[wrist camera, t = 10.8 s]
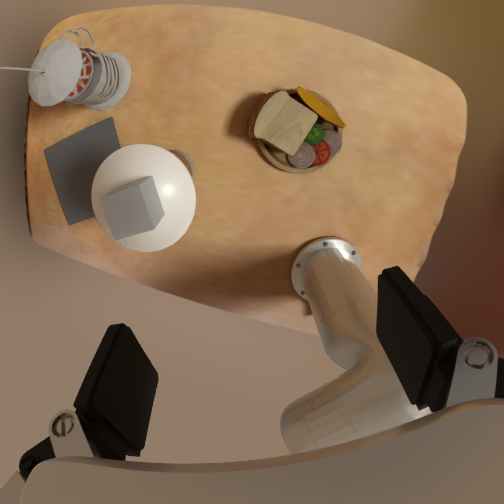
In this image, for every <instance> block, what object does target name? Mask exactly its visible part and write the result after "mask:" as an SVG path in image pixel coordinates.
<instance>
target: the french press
mask: <svg viewBox="0 0 504 504" xmlns="http://www.w3.org/2000/svg"><path fill="white" fill-rule="evenodd" d="M77 29H83V30H85V31H87V32H88V34H89V35H90V37H91V40H92V44H93V49H94V50H91V49H89V48H84V43H83V40H82V38H81V36H80V35H79V34H78V33H77V32H75V30H77ZM67 32H71V33H70V34H69V37H68V39H65V40H60V38H61V37H62V36H63V35H64V34H65V33H67ZM72 33H75V34H76V35H77V36H78V37H79V38H80V39H81V42H82V45H83V49H82V48H78V46H77V44H76V43H74V42H71V41H69V39H70V36H71V34H72ZM88 51H89V52H92V53H95V54H97V55H95V56H93V55H91V54H90V53H89V52H88ZM0 69H15V70H29V71H30V73H29V77H28V89H29V94H30V96H31V98H32V99H33V101H34V102H36V103H37V104H39V105H40V106H53V105H55V104H57V103H59V102H64V103H67V104H83V105H84V106H86V107H87V108H89V109H91V110H100V111H102V110H105V109H107V108H110V107H113V106H114V105H115V104H116V103H117V102H119V101H120V100H121V99H122V98H123V96H124V95H125V93H126V91H127V90H128V88H129V85H130V80H131V76H132V75H131V68H130V64H129V62H128V61H127V59H126V58H125V56H123V55H121V54H119V53H117V52H115V51H104V52H102V53H100V52H98V51H96V50H95V45H94V40H93V36H92V35H91V33H90V32H89V31H88V30H87V29H86V28H84V27H77V28H75V29H74V30H73V31H72V30H69V31H65V32H63V33H62V34H61V35H60V37H59V38H58V40H57V41H54V42H53V43H51V44H49V45H47V46H46V47H45V48H44V49H43V50H42V51H41V52H40V53H39V54H38V55H37V56H36V58H35V60H34V62H33V64H32V66H31V68H30V69H26V68H12V67H0ZM77 99H78V100H80V101H81V102H80V101H78V100H77ZM74 100H76V101H77V102H75V101H74ZM71 101H73V102H71Z"/></svg>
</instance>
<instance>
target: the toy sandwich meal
mask: <svg viewBox="0 0 504 504" xmlns="http://www.w3.org/2000/svg"><path fill="white" fill-rule="evenodd" d="M345 126H346V125H345V124H344V122H343V121H342V120H341V119H340V117H339V115H338V113H337V111H336V109H335V108H334V106H333V105H332V104H331V103H330V102H329V101H328V100H327V99H326V98H324V97H323V96H321V95H320V94H318V93H316V92H313V91H310V90H305V89H303V88H302V87H298V88H297V89H291V90H287V91H284V90H281V91H278V92H269V93H267V94H266V95H264V96H263V97H262V98H261V99H260V100H259V101H258V103H257V104H256V105H255V107H254V109H253V110H252V112H251V115H250V117H249V120H248V123H247V130H246V132H247V136H248V138H251V139H257V141H258V144H259V147H260V149H261V151H262V153H263V154H264V156H265V157H266V158H267V159H268V160H269V161H270V162H271V163H272V164H273V165H275V166H276V167H278V168H279V169H281V170H284V171H287V172H290V173H296V174H305V173H310V172H314V171H317V170H319V169H321V168H323V167H324V166H326V165H327V164H328V163H329V162H330V161H331V160H332V159H333V158H334V157H335V155H336V154H337V153H338V152H339V151H340V150H341V147H342V128H345Z"/></svg>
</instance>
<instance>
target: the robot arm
mask: <svg viewBox="0 0 504 504" xmlns="http://www.w3.org/2000/svg"><path fill="white" fill-rule="evenodd" d="M323 242H325V243H323ZM297 263H299V264H297ZM291 280H292V284H293V287H294V289H295V290H296V292H297V293H298V294H299V295H300V296H301V297H302V298H304V299H305V300H307V301H308V302H309V305H310V308H311V311H312V313H313V316H314V319H315V322H316V325H317V328H318V331H319V334H320V337H321V340H322V343H323V346H324V349H325V351H326V353H327V355H328V356H329V358H330V359H331V360H332V361H333V362H335V363H336V364H337V365H339V366H340V367H342V368H344V369H346V370H347V371H346V372H344V373H343V374H341V375H340V376H339V377H337V378H335V379H334V380H332V381H330V382H328V383H326V384H325V385H323V386H321V387H319V388H317V389H315V390H313V391H312V392H309V393H308V394H306V395H304V396H302V397H300V398H298V399H296V400H295V401H293V402H292V403H290V404H289V405H288V406H287V407H286V408H285V409H284V411H283V413H282V415H281V418H280V430H281V434H282V437H283V440H284V442H285V444H286V447H287V448H288V450H289V452H290V454H291V455H285V456H279V457H273V458H265V459H257V460H248V461H237V462H224V463H202V464H166V463H146V462H133V461H126V460H125V458H126V455H128V456H137V457H139V456H140V452H141V450H142V449H143V448H144V446H145V441H146V436H147V431H148V426H149V421H150V416H151V411H152V406H153V402H154V397H155V393H156V388H157V384H158V373H157V371H156V370H155V368H154V367H153V365H152V363H151V362H150V360H149V359H148V357H147V355H146V354H145V352H144V351H143V349H142V347H141V346H140V344H139V342H138V341H137V339H136V337H135V335H134V334H133V332H132V330H131V329H130V328H129V327H128V326H126V325H125V324H123V323H121V324H114V325H110V326H109V327H108V329H107V331H106V333H105V335H104V337H103V339H102V341H101V343H100V345H99V347H98V350H97V352H96V354H95V356H94V358H93V360H92V362H91V365H90V367H89V369H88V371H87V374H86V376H85V378H84V381H83V383H82V385H81V388H80V390H79V392H78V395H77V397H76V399H75V402H74V404H73V406H74V407H75V408H76V411H75V412H73V411H72V410H63V411H60V412H58V413H57V414H56V415H55V416H54V417H53V419H52V420H51V422H50V424H49V435H50V436H49V437H48V438H46V439H45V440H43V441H42V442H40V443H39V444H37V445H36V446H34V447H33V448H31V449H30V450H29V451H27V452H26V453H25V454H23V456H22V457H21V460H20V463H19V470H20V472H19V471H16V472H15V473H14V474H13V476H12V477H11V478H10V479H9V480H8V482H7V483H6V484H5V485H4V487H3V488H2V489H1V490H0V504H504V359H502V358H498V355H497V351H496V349H495V347H494V346H493V345H492V344H491V343H490V342H489V341H487V340H485V339H482V338H471V339H467V340H466V341H463V340H462V339H461V338H460V336H459V335H458V334H457V332H456V331H455V330H454V329H453V327H452V326H451V325H450V323H449V322H448V321H447V320H446V319H445V317H444V316H443V315H442V314H441V312H440V311H439V310H438V309H437V307H436V306H435V305H434V304H433V303H432V301H431V300H430V299H429V298H428V297H427V296H426V295H423V294H422V292H421V291H420V290H419V289H418V288H417V287H416V285H415V284H414V283H413V282H412V281H411V280H410V279H409V277H408V276H407V275H406V274H405V273H404V272H403V271H402V270H401V268H400V267H398V266H395V267H391V268H387V269H384V270H383V271H382V274H380V275H379V276H378V295H377V293H376V292H375V291H374V289H373V288H372V286H371V285H370V283H369V282H368V280H367V279H366V277H365V276H364V275H363V273H362V260H361V257H360V254H359V252H358V251H357V249H356V248H355V247H354V246H353V245H352V244H351V243H350V242H349V241H347V240H345V239H342V238H339V237H324V238H320V239H317V240H314V241H312V242H311V243H309V244H307V245H306V246H305V247H304V248H302V249H301V251H300V252H299V253H298V254H297V256H296V257H295V259H294V261H293V264H292V267H291ZM432 412H433V413H432Z"/></svg>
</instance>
